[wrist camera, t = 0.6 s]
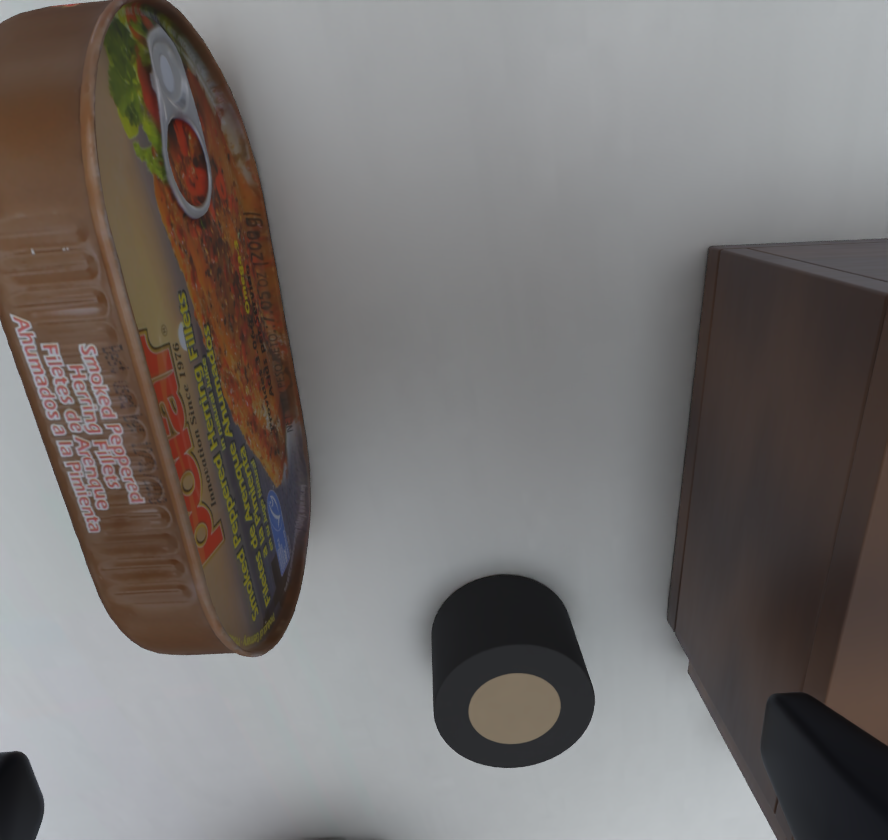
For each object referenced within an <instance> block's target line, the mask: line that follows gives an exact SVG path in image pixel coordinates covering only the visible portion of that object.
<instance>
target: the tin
mask: <svg viewBox="0 0 888 840" xmlns="http://www.w3.org/2000/svg"><path fill="white" fill-rule="evenodd" d="M0 320H1V323H2V327H3V330H4V332H5V334H6V337H7V340H8V344H9V347H10V349H11V351H12V354H13V357H14V360H15V363H16V367H17V370H18V372H19V375H20V377H21V380H22V383H23V386H24V389H25V392H26V395H27V397H28V400H29V402H30V405H31V408H32V411H33V414H34V417H35V420H36V423H37V426H38V428H39V431H40V434H41V437H42V440H43V443H44V445H45V448H46V451H47V454H48V457H49V459H50V462H51V465H52V468H53V471H54V474H55V476H56V479H57V482H58V485H59V488H60V490H61V493H62V496H63V499H64V501H65V504H66V507H67V510H68V512H69V515H70V518H71V521H72V524H73V527H74V530H75V533H76V535H77V537H78V540H79V543H80V546H81V549H82V552H83V554H84V557H85V560H86V564H87V566H88V569H89V572H90V574H91V577H92V579H93V582H94V584H95V587H96V590H97V592H98V595H99V597H100V599H101V601H102V603H103V605H104V607H105V609H106V611H107V612H108V614H109V616H110V617H111V619H112V620H113V621H114V623H115V624H116V625H117V626H118V628H119V629H120V630H121V631H122V632H123V633H124V634H125V635H126V636H127V637H128V638H129V639H130V640H131V641H133V642H134V643H136V644H137V645H139V646H140V647H142V648H144V649H147V650H150V651H153V652H156V653H160V654H170V655H201V654H223V653H237V654H239V655H242V656H247V657H258V656H262V655H264V654H265V653H267V652H268V651H269V650H271V649H273V647H274V646H275V645H276V644H277V643H278V642H279V641H280V639H281V638H282V636H283V634H284V633H285V631H286V629H287V627H288V625H289V623H290V621H291V619H292V616H293V614H294V611H295V607H296V604H297V601H298V598H299V594H300V590H301V585H302V580H303V575H304V569H305V563H306V554H307V547H308V537H309V526H310V512H311V487H310V468H309V457H308V451H307V440H306V434H305V428H304V422H303V416H302V410H301V405H300V399H299V394H298V388H297V383H296V378H295V372H294V366H293V360H292V355H291V350H290V345H289V338H288V333H287V328H286V322H285V316H284V311H283V305H282V300H281V294H280V288H279V281H278V275H277V270H276V264H275V259H274V254H273V248H272V243H271V237H270V231H269V225H268V220H267V214H266V209H265V203H264V198H263V193H262V189H261V183H260V179H259V175H258V171H257V167H256V162H255V160H254V157H253V153H252V150H251V146H250V143H249V140H248V137H247V133H246V130H245V127H244V124H243V121H242V118H241V115H240V113H239V110H238V107H237V105H236V102H235V100H234V98H233V95H232V92H231V90H230V88H229V86H228V84H227V82H226V80H225V78H224V76H223V74H222V72H221V70H220V68H219V66H218V64H217V63H216V61H215V59H214V57H213V56H212V54H211V52H210V50H209V49H208V47H207V45H206V44H205V42H204V41H203V39H202V38H201V37H200V35H199V34H198V33H197V31H196V30H195V29H194V28H193V26H192V25H191V24H190V22H189V21H188V20H187V19H186V18H185V16H184V15H183V14H182V13H181V12H180V11H179V10H178V9H177V8H175V7H174V6H173V5H172V4H171V3H170V2H168V1H167V0H107V1H99V2H89V3H79V4H68V5H58V6H49V7H45V8H40V9H36V10H32V11H28V12H24V13H20V14H17V15H15V16H13V17H11V18H9V19H7V20H5V21H3V22H2V23H1V24H0Z"/></svg>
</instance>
